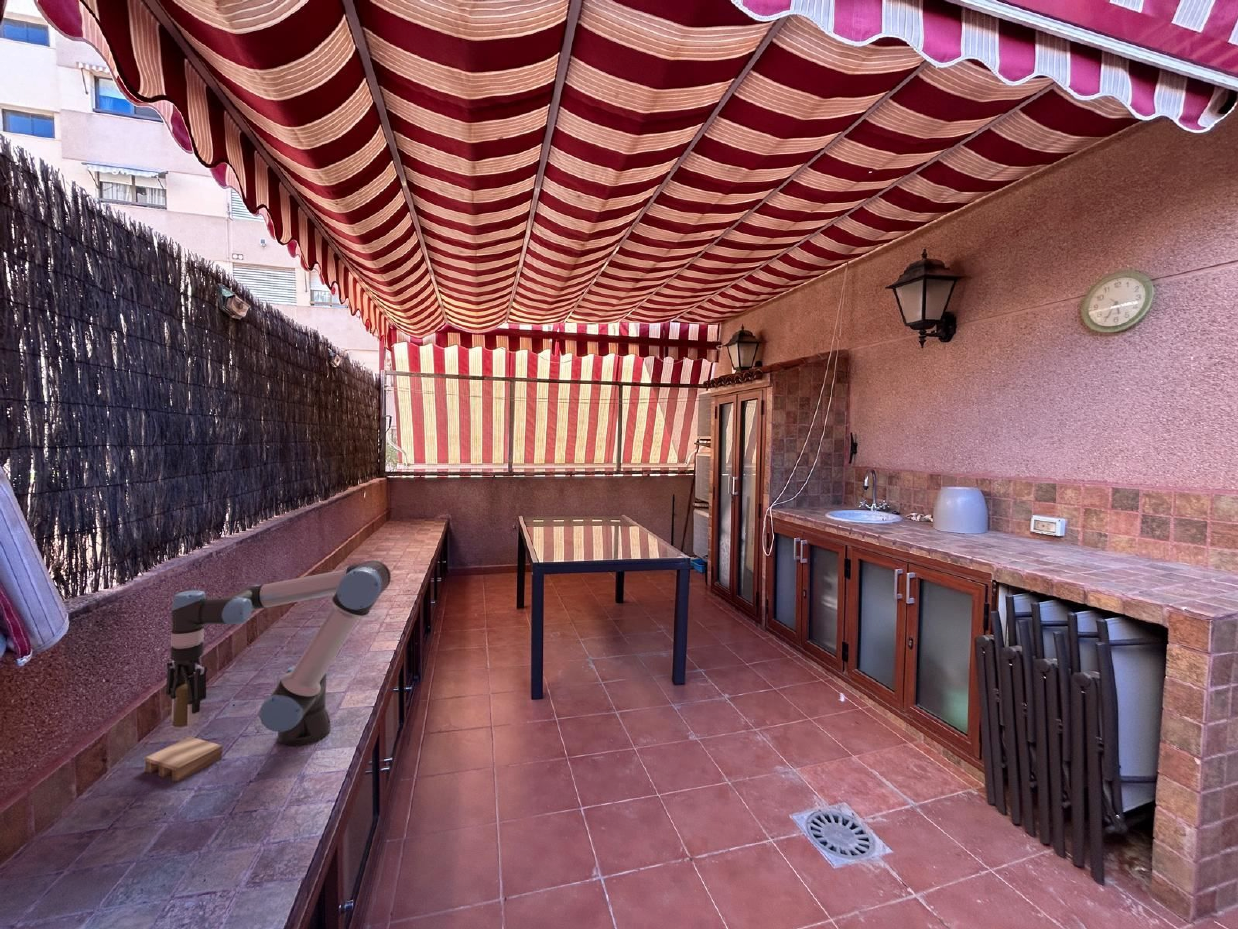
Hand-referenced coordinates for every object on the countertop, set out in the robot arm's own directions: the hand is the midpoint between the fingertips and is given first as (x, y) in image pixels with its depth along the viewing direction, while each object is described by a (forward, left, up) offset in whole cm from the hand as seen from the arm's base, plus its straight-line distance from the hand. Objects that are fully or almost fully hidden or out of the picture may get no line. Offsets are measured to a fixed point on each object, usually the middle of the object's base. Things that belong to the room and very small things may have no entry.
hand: (185, 721), depth 153 cm
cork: (0, 0, 0) cm, 1 cm away
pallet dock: (0, 0, -13) cm, 13 cm away
